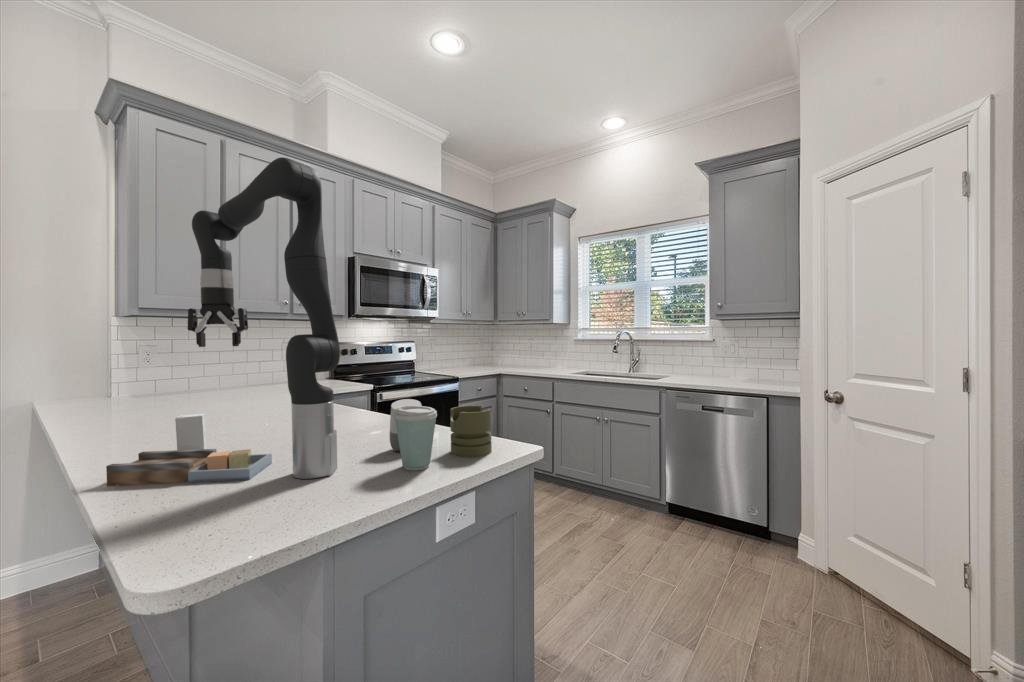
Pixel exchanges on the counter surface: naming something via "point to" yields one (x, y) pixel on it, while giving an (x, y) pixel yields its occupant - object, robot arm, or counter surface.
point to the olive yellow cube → (240, 459)
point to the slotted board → (154, 475)
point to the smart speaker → (393, 430)
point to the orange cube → (218, 460)
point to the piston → (470, 431)
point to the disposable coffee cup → (415, 435)
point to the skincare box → (191, 432)
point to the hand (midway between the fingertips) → (218, 346)
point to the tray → (230, 471)
